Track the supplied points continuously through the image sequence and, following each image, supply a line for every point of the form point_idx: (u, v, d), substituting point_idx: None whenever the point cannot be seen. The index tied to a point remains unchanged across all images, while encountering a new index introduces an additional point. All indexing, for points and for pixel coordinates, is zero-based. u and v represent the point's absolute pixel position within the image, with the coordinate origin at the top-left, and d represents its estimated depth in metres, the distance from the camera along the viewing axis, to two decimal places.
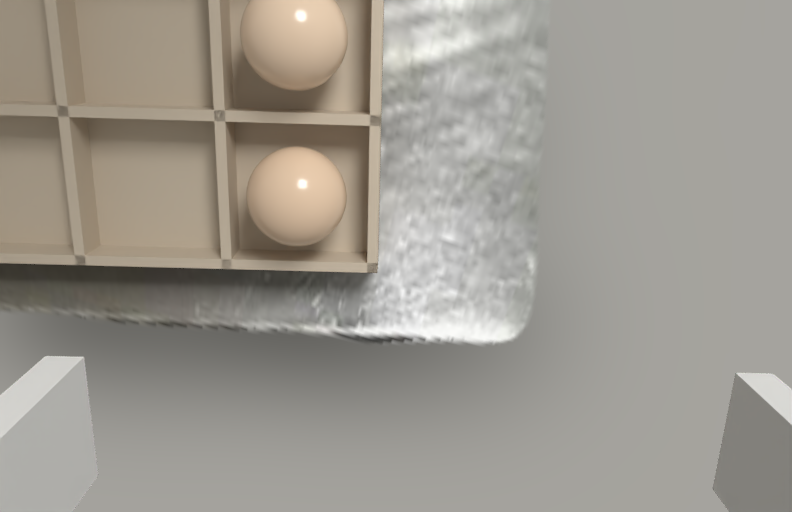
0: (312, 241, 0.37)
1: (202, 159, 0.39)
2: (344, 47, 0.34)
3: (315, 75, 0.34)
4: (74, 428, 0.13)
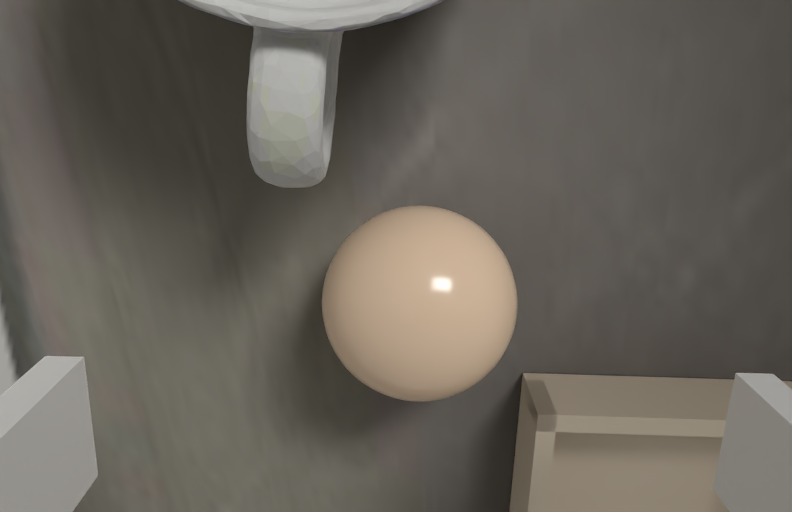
0: None
1: None
2: None
3: None
4: (74, 428, 0.13)
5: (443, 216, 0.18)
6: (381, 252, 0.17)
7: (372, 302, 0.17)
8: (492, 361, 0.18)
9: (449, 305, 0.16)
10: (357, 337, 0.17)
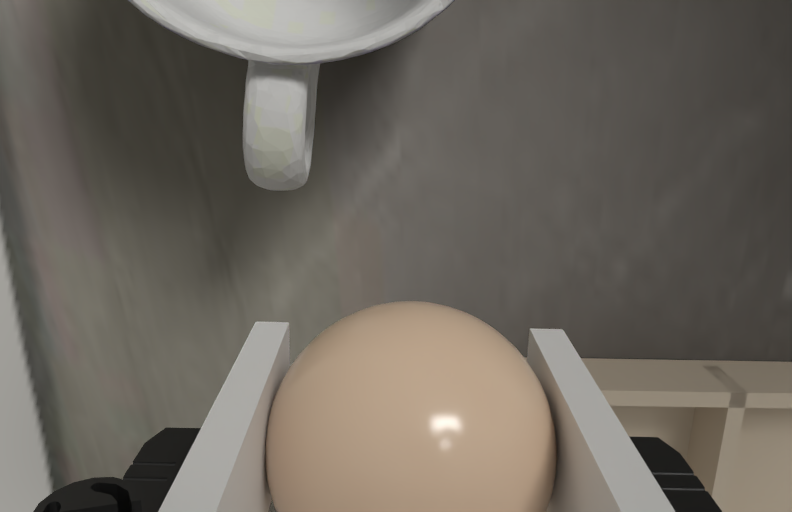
0: None
1: None
2: None
3: None
4: None
5: (447, 326, 0.12)
6: (351, 391, 0.11)
7: (337, 475, 0.10)
8: None
9: (460, 482, 0.10)
10: None
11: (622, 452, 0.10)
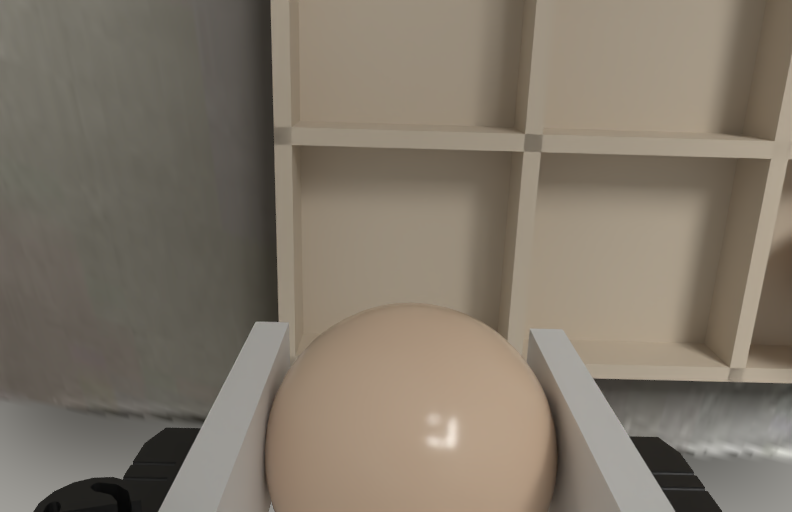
0: None
1: (692, 212, 0.26)
2: None
3: None
4: None
5: (446, 327, 0.12)
6: (351, 393, 0.11)
7: (337, 478, 0.10)
8: None
9: (460, 485, 0.10)
10: None
11: (622, 452, 0.10)
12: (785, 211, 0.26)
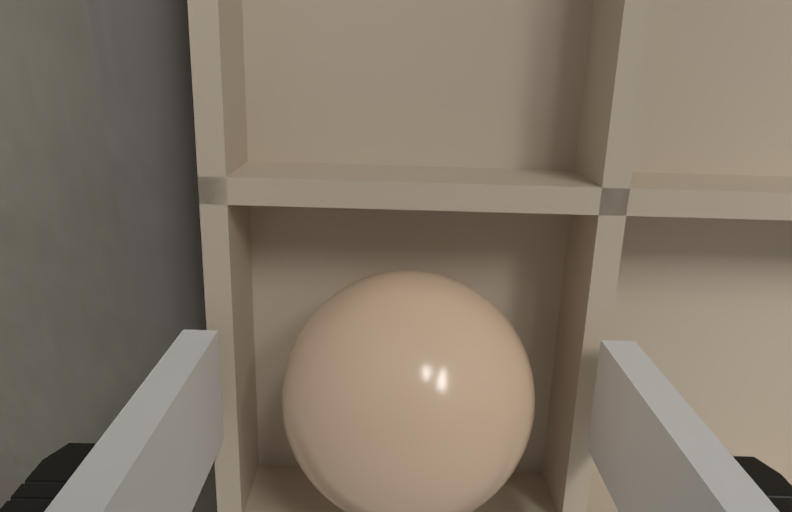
0: None
1: None
2: None
3: None
4: (212, 394, 0.14)
5: (439, 287, 0.14)
6: (358, 340, 0.13)
7: (346, 411, 0.12)
8: (505, 479, 0.13)
9: (448, 415, 0.12)
10: (325, 456, 0.13)
11: (732, 476, 0.10)
12: None
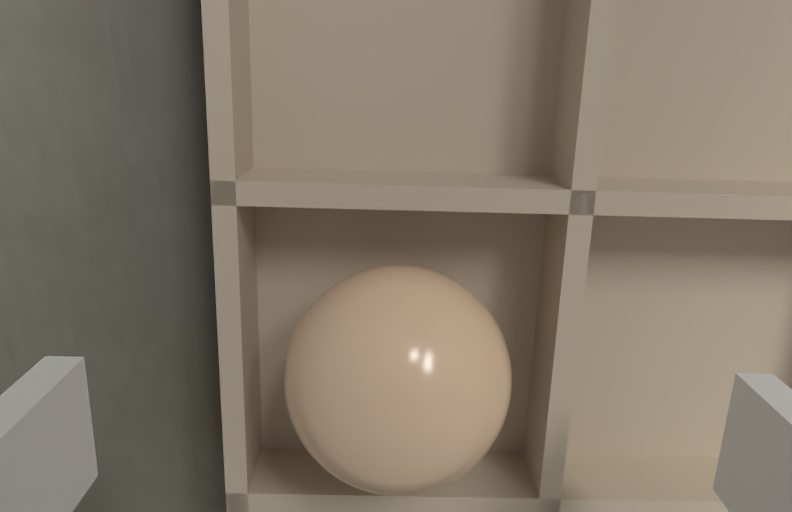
0: None
1: (789, 289, 0.19)
2: None
3: None
4: (74, 428, 0.13)
5: (424, 279, 0.15)
6: (352, 325, 0.14)
7: (341, 386, 0.14)
8: (483, 450, 0.15)
9: (432, 390, 0.14)
10: (323, 428, 0.14)
11: None
12: None
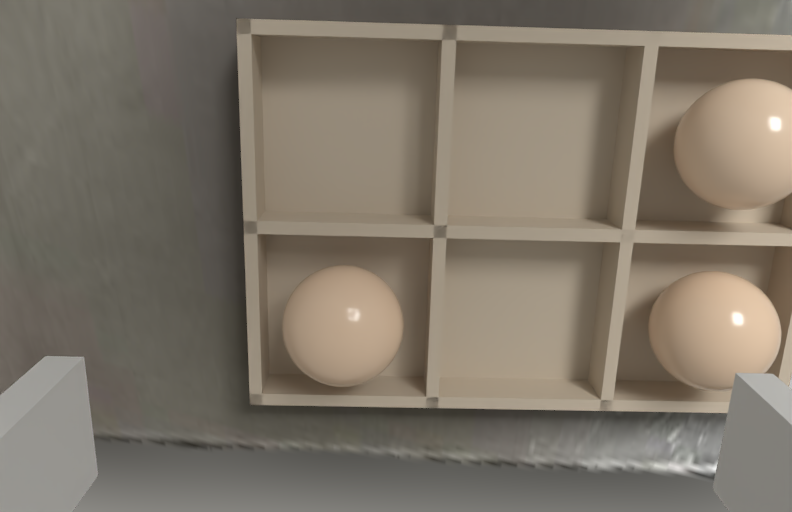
0: None
1: (571, 278, 0.33)
2: None
3: (785, 196, 0.28)
4: (74, 428, 0.13)
5: (355, 272, 0.29)
6: (316, 295, 0.28)
7: (310, 325, 0.28)
8: (385, 360, 0.29)
9: (354, 326, 0.28)
10: (301, 346, 0.28)
11: None
12: (644, 277, 0.33)
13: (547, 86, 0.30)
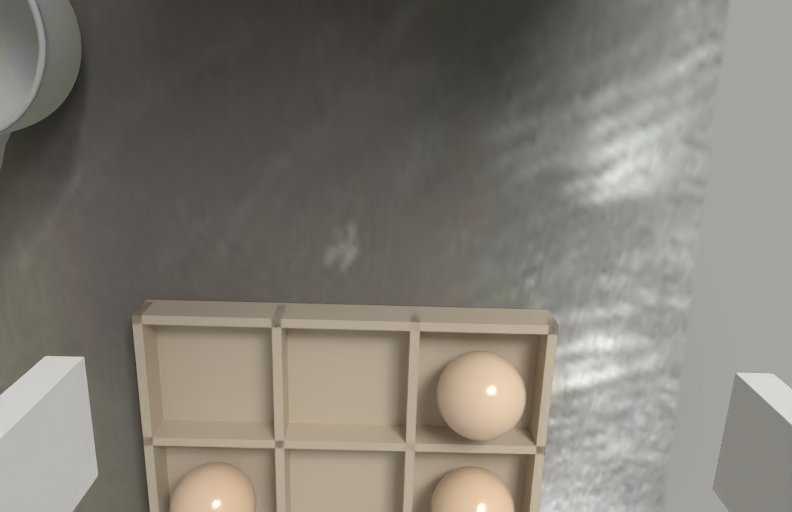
0: None
1: (383, 463, 0.46)
2: (524, 408, 0.41)
3: None
4: (74, 428, 0.13)
5: (218, 475, 0.43)
6: (188, 494, 0.42)
7: None
8: None
9: None
10: None
11: None
12: (435, 462, 0.46)
13: (356, 341, 0.44)
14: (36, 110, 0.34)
